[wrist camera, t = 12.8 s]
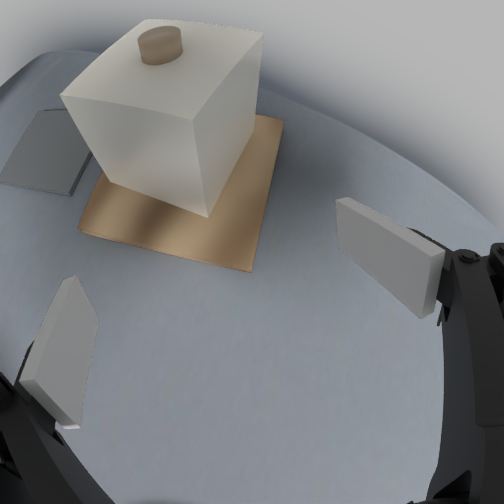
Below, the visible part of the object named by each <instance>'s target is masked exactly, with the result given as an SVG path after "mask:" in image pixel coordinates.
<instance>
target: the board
mask: <svg viewBox="0 0 504 504" xmlns="http://www.w3.org/2000/svg"><path fill="white" fill-rule="evenodd" d="M283 125H284V120H281V119H276V118H272V117H267V116H262V115H256V114H255V122H254V132H253V133H252V135H251V137H250V139H249V141H248V142H247V144H246V146H245V148H244V150H243V152H242V153H241V155H240V157H239V159H238V161H237V163H236V165H235V167H234V168H233V170H232V172H231V174H230V176H229V178H228V180H227V182H226V184H225V186H224V188H223V189H222V191H221V193H220V195H219V197H218V199H217V201H216V203H215V205H214V207H213V209H212V211H211V213H210V215H209V217H208V218H207V217H204V216H201V215H199V214H196V213H193V212H191V211H188V210H185V209H183V208H180V207H177V206H175V205H172V204H169V203H166V202H164V201H161V200H158V199H156V198H153V197H150V196H148V195H145V194H142V193H139V192H137V191H134V190H131V189H128V188H126V187H123V186H120V185H117V184H115V183H112V182H110V181H109V179H108V177H107V176H106V174H105V173H104V171H102V173H101V175H100V177H99V179H98V182H97V184H96V186H95V188H94V190H93V192H92V195H91V197H90V199H89V201H88V204H87V206H86V208H85V211H84V213H83V215H82V218H81V220H80V223H79V225H78V228H79V229H80V230H81V231H82V232H83V233H85V234H89V235H93V236H97V237H101V238H105V239H109V240H113V241H117V242H121V243H125V244H129V245H133V246H137V247H141V248H145V249H149V250H154V251H158V252H162V253H166V254H170V255H175V256H179V257H183V258H187V259H192V260H196V261H200V262H205V263H209V264H213V265H218V266H222V267H226V268H231V269H235V270H240V271H244V272H249V273H251V271H252V266H253V262H254V257H255V253H256V248H257V244H258V239H259V235H260V230H261V225H262V221H263V216H264V212H265V207H266V203H267V198H268V194H269V189H270V184H271V180H272V175H273V171H274V166H275V161H276V157H277V152H278V148H279V143H280V138H281V134H282V129H283Z"/></svg>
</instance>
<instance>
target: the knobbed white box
mask: <svg viewBox="0 0 504 504" xmlns="http://www.w3.org/2000/svg"><path fill="white" fill-rule="evenodd" d="M263 37H264V33H261V32H256V31H251V30H246V29H241V28H235V27H228V26H222V25H216V24H208V23H198V22H190V21H178V20H177V21H176V20H158V19H156V20H155V19H146V20H144V21H143V22H141V23H140V24H139V25H137V26H136V27H135V28H133V29H132V30H131V31H129V32H128V33H127V34H125V35H124V36H123V37H122V38H120V39H119V40H118V41H117V42H115V43H114V44H113V45H112V46H111V47H109V48H108V49H107V50H106V51H105V52H103V53H102V54H101V55H100V56H99V57H98V58H97V59H96V60H94V61H93V62H92V63H91V64H90V65H89V66H88V67H87V68H86V69H85V70H84V71H83V72H82V73H81V74H80V75H79V76H78V77H76V78H75V79H74V81H73V82H72V83H71V84H70V85H69V86H68V87H67V88H66V89H65V90H64V91H63V92H62V93H61V94H60V97H61V99H62V101H63V102H64V104H65V106H66V108H67V110H68V112H69V113H70V115H71V117H72V119H73V121H74V122H75V124H76V126H77V128H78V129H79V131H80V133H81V135H82V136H83V138H84V140H85V141H86V143H87V145H88V147H89V148H90V150H91V152H92V153H93V155H94V156H95V158H96V160H97V161H98V163H99V165H100V166H101V168H102V169H103V171H104V173H105V174H106V176H107V177H108V179H109V181H110V182H112V183H115V184H117V185H120V186H123V187H126V188H128V189H131V190H134V191H137V192H139V193H142V194H145V195H148V196H150V197H153V198H156V199H158V200H161V201H164V202H166V203H169V204H172V205H175V206H177V207H180V208H183V209H185V210H188V211H191V212H193V213H196V214H199V215H201V216H204V217H207V218H208V217H209V215H210V213H211V211H212V209H213V207H214V205H215V203H216V201H217V199H218V197H219V195H220V193H221V191H222V189H223V188H224V186H225V184H226V182H227V180H228V178H229V176H230V174H231V172H232V170H233V168H234V167H235V165H236V163H237V161H238V159H239V157H240V155H241V153H242V152H243V150H244V148H245V146H246V144H247V142H248V141H249V139H250V137H251V135H252V133H253V132H254V122H255V112H256V103H257V93H258V84H259V74H260V65H261V55H262V47H263Z"/></svg>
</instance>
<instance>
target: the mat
mask: <svg viewBox="0 0 504 504" xmlns="http://www.w3.org/2000/svg"><path fill="white" fill-rule="evenodd" d="M92 154H93V153H92V152H91V150H90V148H89V147H88V145H87V143H86V141H85V140H84V138H83V136H82V135H81V133H80V131H79V129H78V128H77V126H76V124H75V122H74V121H73V119H72V117H71V115H70V113H69V112H68V110H52V111H39V112H38V113H37V115H36V116H35V118H34V119H33V121H32V122H31V124H30V125H29V127H28V128H27V130H26V131H25V133H24V134H23V136H22V137H21V139H20V141H19V142H18V144H17V146H16V147H15V149H14V151H13V152H12V154H11V156H10V158H9V159H8V161H7V163H6V165H5V167H4V168H3V170H2V172H1V174H0V184H6V185H12V186H17V187H23V188H29V189H34V190H40V191H45V192H51V193H56V194H62V195H67V196H72V194H73V192H74V190H75V188H76V186H77V184H78V181H79V179H80V177H81V175H82V173H83V171H84V169H85V168H86V166H87V164H88V162H89V160H90V158H91V156H92Z"/></svg>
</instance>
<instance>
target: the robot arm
mask: <svg viewBox="0 0 504 504" xmlns="http://www.w3.org/2000/svg"><path fill="white" fill-rule="evenodd" d="M335 202H336V215H337V230H338V249H340V250H341V251H342V252H343V253H345V254H346V255H347V256H348V257H349V258H351V259H352V260H353V261H354V262H355V263H357V264H358V265H359V266H360V267H361V268H363V269H364V270H365V271H366V272H367V273H368V274H370V275H371V276H372V277H373V278H374V279H375V280H377V281H378V282H379V283H380V284H381V285H382V286H384V287H385V288H386V289H387V290H388V291H389V292H390V293H392V294H393V295H394V296H395V297H396V298H397V299H398V300H399V301H401V302H402V303H403V304H404V305H405V306H406V307H407V308H408V309H410V310H411V311H412V312H413V313H414V314H415V315H416V316H417V317H418V318H419V319H422V318H424V317H425V316H427V315H429V314H431V313H432V312H434V308H435V304H436V299H437V300H438V301H440V302H441V303H442V307H441V311H440V315H439V318H438V322H437V326H439V325H440V322H441V321H442V334H443V352H444V404H443V421H442V433H441V443H440V452H439V459H438V465H437V468H436V471H435V473H434V475H433V477H432V479H431V482H430V485H429V488H428V492H427V497H426V501H422V502H418V503H415V504H504V243H494V244H492V245H491V249H490V254H489V255H488V256H483V257H481V256H480V255H479V254H477V253H476V252H474V251H471V250H467V249H459V250H456V251H454V252H453V251H451V250H450V249H448V248H446V247H445V246H443V245H441V244H440V243H438V242H436V241H435V240H432V239H431V238H430V237H428V236H425V235H424V234H423V233H421V232H419V231H417V230H414V229H411V228H407V227H405V226H403V225H401V224H399V223H397V222H395V221H394V220H392V219H390V218H388V217H386V216H384V215H383V214H381V213H379V212H377V211H375V210H373V209H371V208H369V207H367V206H365V205H363V204H361V203H359V202H357V201H355V200H353V199H351V198H349V197H345V198H341V199H337V200H335ZM99 321H100V319H99V318H98V316H97V314H96V312H95V310H94V309H93V307H92V305H91V303H90V301H89V299H88V297H87V295H86V293H85V291H84V290H83V288H82V286H81V284H80V282H79V279H78V277H77V275H75V276H72V277H69V278H66V279H64V280H63V282H62V284H61V286H60V288H59V290H58V292H57V294H56V296H55V298H54V300H53V302H52V304H51V306H50V308H49V310H48V312H47V314H46V316H45V318H44V320H43V323H42V325H41V327H40V329H39V332H38V334H37V336H36V339H35V340H34V341H33V342H32V344H31V345H30V346H29V348H28V350H27V352H26V355H25V359H24V360H23V362H22V366H21V367H20V370H19V373H18V375H17V378H16V381H15V384H14V387H13V386H12V384H11V383H10V382H9V381H8V380H7V379H6V377H5V376H4V375H3V374H2V372H0V458H1V463H0V504H115V503H114V502H113V501H112V500H111V498H110V497H109V496H108V495H107V494H106V493H105V492H104V491H103V490H102V488H101V487H100V486H99V485H98V484H97V482H96V481H95V480H94V479H93V478H92V476H91V475H90V474H89V473H88V471H87V470H86V469H85V468H84V466H83V465H82V464H81V462H80V461H79V460H78V458H77V457H76V456H75V454H74V453H73V452H72V450H71V449H70V447H69V446H68V444H67V443H66V442H65V440H64V439H63V437H62V436H61V434H60V433H59V432H58V431H57V430H56V429H55V422H56V421H57V422H58V423H59V424H60V425H61V426H62V427H63V428H65V429H74V428H81V421H82V412H83V405H84V398H85V391H86V385H87V379H88V373H89V368H90V363H91V358H92V353H93V348H94V343H95V339H96V334H97V330H98V326H99ZM407 504H414V503H413V501H411V502H409V503H407Z"/></svg>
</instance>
